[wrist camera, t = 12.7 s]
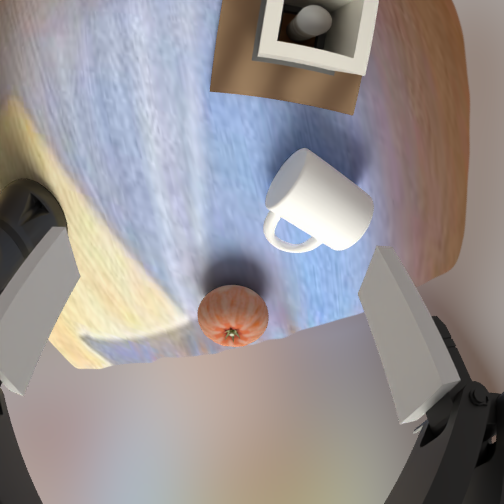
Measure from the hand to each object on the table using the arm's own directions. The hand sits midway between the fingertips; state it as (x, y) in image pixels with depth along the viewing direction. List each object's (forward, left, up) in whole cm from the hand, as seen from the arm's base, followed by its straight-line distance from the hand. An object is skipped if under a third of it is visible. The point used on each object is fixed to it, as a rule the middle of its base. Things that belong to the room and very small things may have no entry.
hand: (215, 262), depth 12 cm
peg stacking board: (+4, +12, -25) cm, 28 cm away
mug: (+9, -8, -25) cm, 28 cm away
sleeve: (+4, +12, -20) cm, 24 cm away
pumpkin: (+2, -27, -25) cm, 37 cm away
